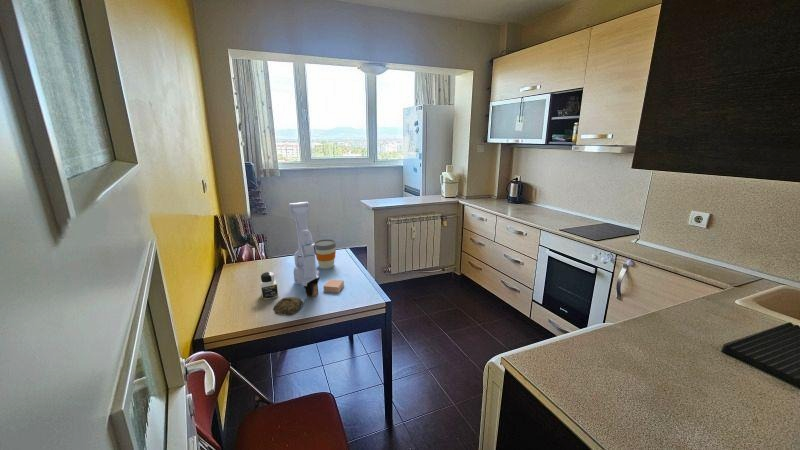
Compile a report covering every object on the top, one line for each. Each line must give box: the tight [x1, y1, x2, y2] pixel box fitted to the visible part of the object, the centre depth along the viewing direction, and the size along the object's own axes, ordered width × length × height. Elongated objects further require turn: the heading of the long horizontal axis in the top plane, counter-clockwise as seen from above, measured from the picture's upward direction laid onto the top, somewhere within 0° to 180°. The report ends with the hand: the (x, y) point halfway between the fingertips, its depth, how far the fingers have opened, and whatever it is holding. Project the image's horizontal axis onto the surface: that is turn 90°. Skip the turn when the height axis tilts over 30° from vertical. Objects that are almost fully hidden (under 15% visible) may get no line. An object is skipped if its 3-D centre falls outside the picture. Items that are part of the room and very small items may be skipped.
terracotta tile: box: [323, 279, 345, 294], centre depth 173 cm, size 8×8×3 cm
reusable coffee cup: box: [314, 238, 337, 269], centre depth 201 cm, size 12×13×15 cm
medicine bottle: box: [259, 271, 279, 301], centre depth 165 cm, size 7×7×12 cm
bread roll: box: [272, 296, 304, 316], centre depth 154 cm, size 13×12×5 cm
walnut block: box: [305, 283, 319, 299], centre depth 166 cm, size 4×4×6 cm
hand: (312, 292), depth 166 cm, fingers closed on walnut block, 4 cm apart
